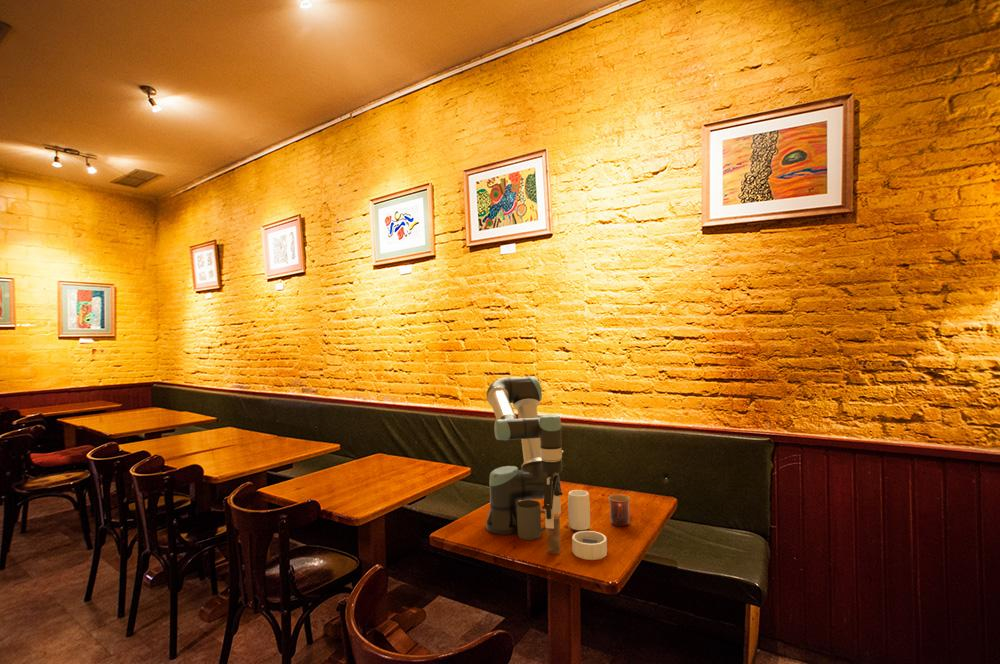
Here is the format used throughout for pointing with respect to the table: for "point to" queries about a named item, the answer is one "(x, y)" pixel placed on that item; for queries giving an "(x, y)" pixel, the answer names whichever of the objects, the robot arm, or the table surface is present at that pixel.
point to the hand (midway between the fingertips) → (553, 520)
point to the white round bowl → (589, 545)
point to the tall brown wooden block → (554, 537)
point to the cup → (579, 509)
